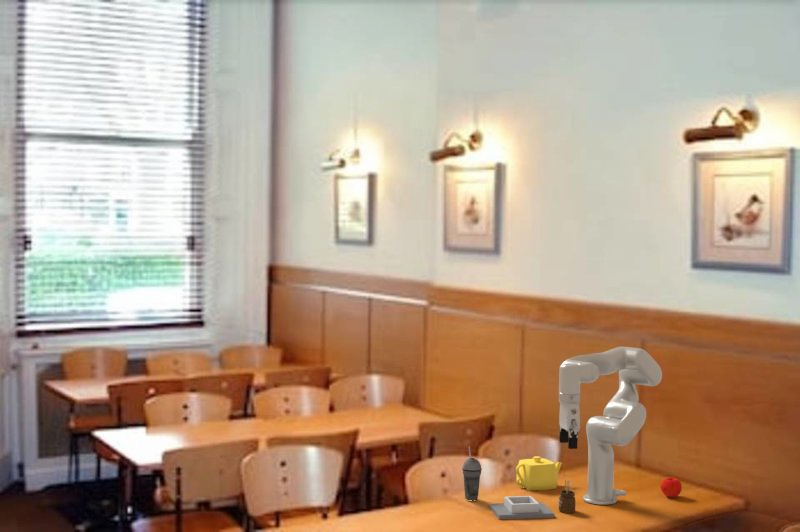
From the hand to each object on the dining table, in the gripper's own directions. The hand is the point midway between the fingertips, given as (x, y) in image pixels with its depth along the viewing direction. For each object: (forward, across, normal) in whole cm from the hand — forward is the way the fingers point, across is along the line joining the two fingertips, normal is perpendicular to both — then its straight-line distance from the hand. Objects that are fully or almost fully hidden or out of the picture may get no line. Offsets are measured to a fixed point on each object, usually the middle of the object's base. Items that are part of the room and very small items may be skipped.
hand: (568, 445), depth 348 cm
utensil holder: (+24, 0, 0) cm, 24 cm away
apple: (+24, +14, -46) cm, 54 cm away
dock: (+24, 0, +17) cm, 29 cm away
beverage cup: (+24, +18, +31) cm, 43 cm away
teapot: (+24, +34, 0) cm, 42 cm away
